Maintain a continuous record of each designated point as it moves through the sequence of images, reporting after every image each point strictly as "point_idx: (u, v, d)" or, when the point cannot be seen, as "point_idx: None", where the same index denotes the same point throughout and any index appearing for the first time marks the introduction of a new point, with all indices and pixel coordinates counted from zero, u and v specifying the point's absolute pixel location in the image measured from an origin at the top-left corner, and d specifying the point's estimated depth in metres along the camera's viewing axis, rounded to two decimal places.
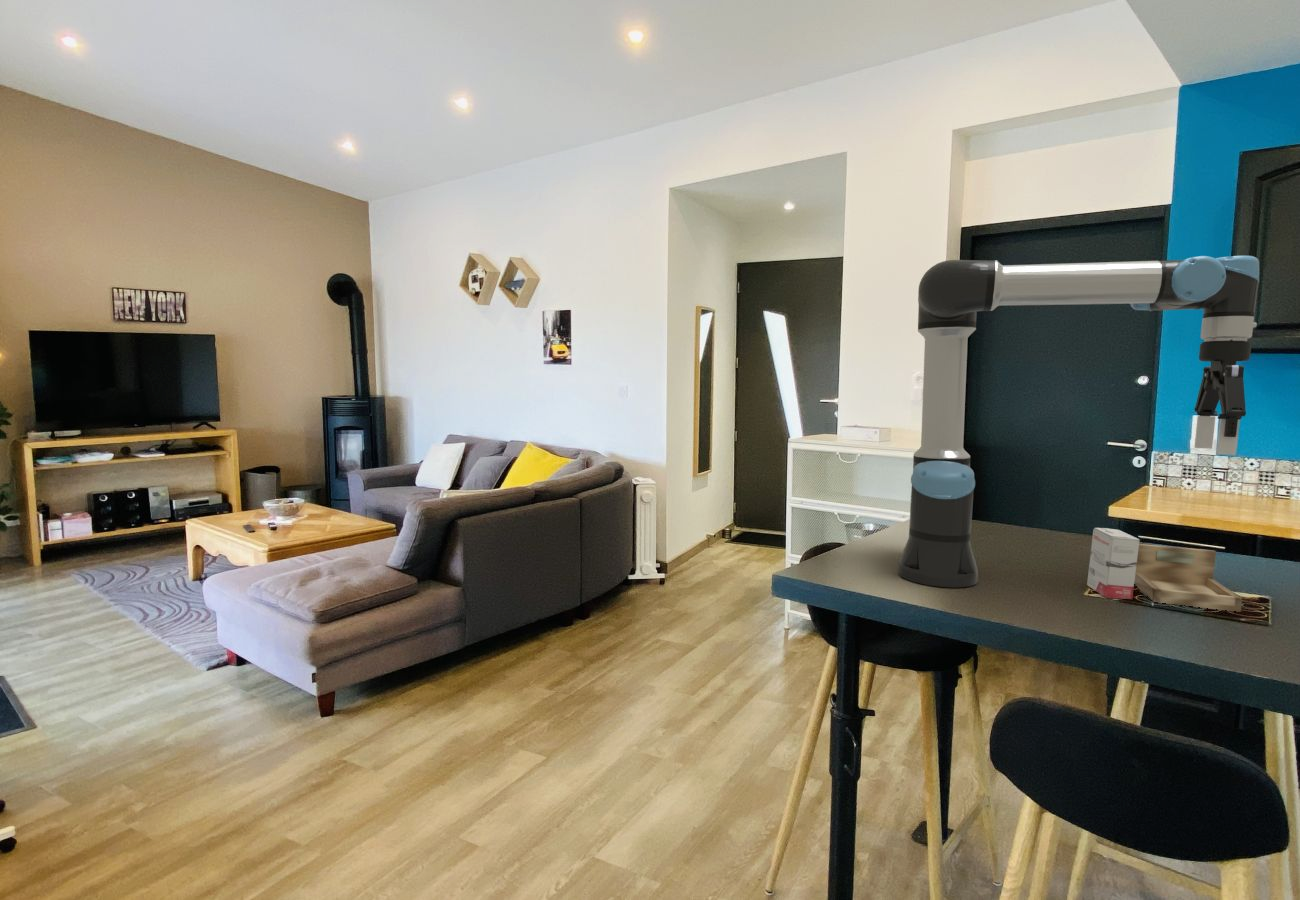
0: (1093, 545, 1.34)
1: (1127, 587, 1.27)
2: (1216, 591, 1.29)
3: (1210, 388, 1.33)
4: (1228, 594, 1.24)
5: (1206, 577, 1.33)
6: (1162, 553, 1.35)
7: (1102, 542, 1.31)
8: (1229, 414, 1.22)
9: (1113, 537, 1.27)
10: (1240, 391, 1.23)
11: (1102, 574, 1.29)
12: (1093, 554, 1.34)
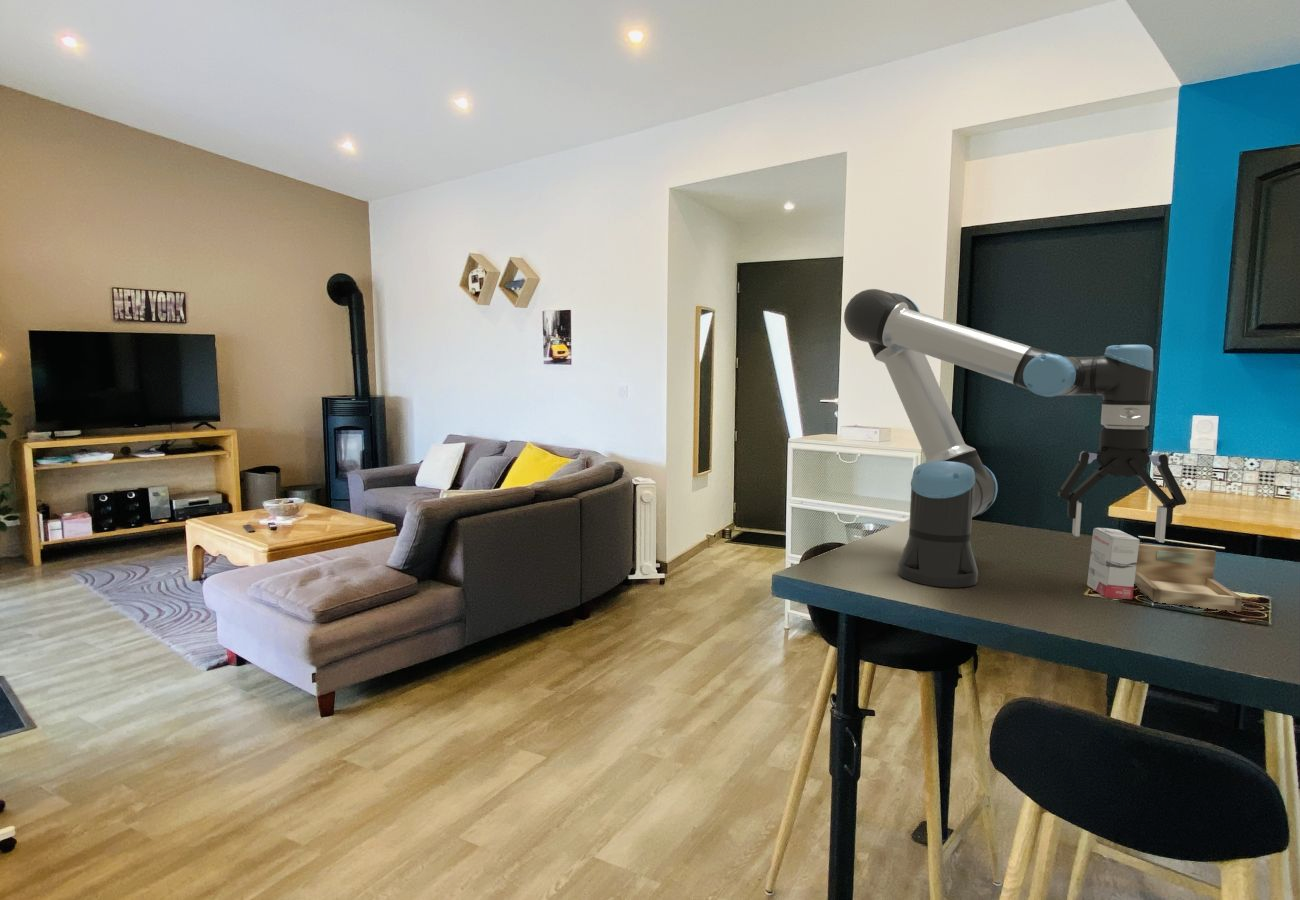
0: (1093, 545, 1.34)
1: (1127, 587, 1.27)
2: (1216, 591, 1.29)
3: (1137, 475, 1.29)
4: (1228, 594, 1.24)
5: (1206, 577, 1.33)
6: (1162, 553, 1.35)
7: (1102, 542, 1.31)
8: (1058, 495, 1.34)
9: (1113, 537, 1.27)
10: (1071, 475, 1.32)
11: (1102, 574, 1.29)
12: (1093, 554, 1.34)
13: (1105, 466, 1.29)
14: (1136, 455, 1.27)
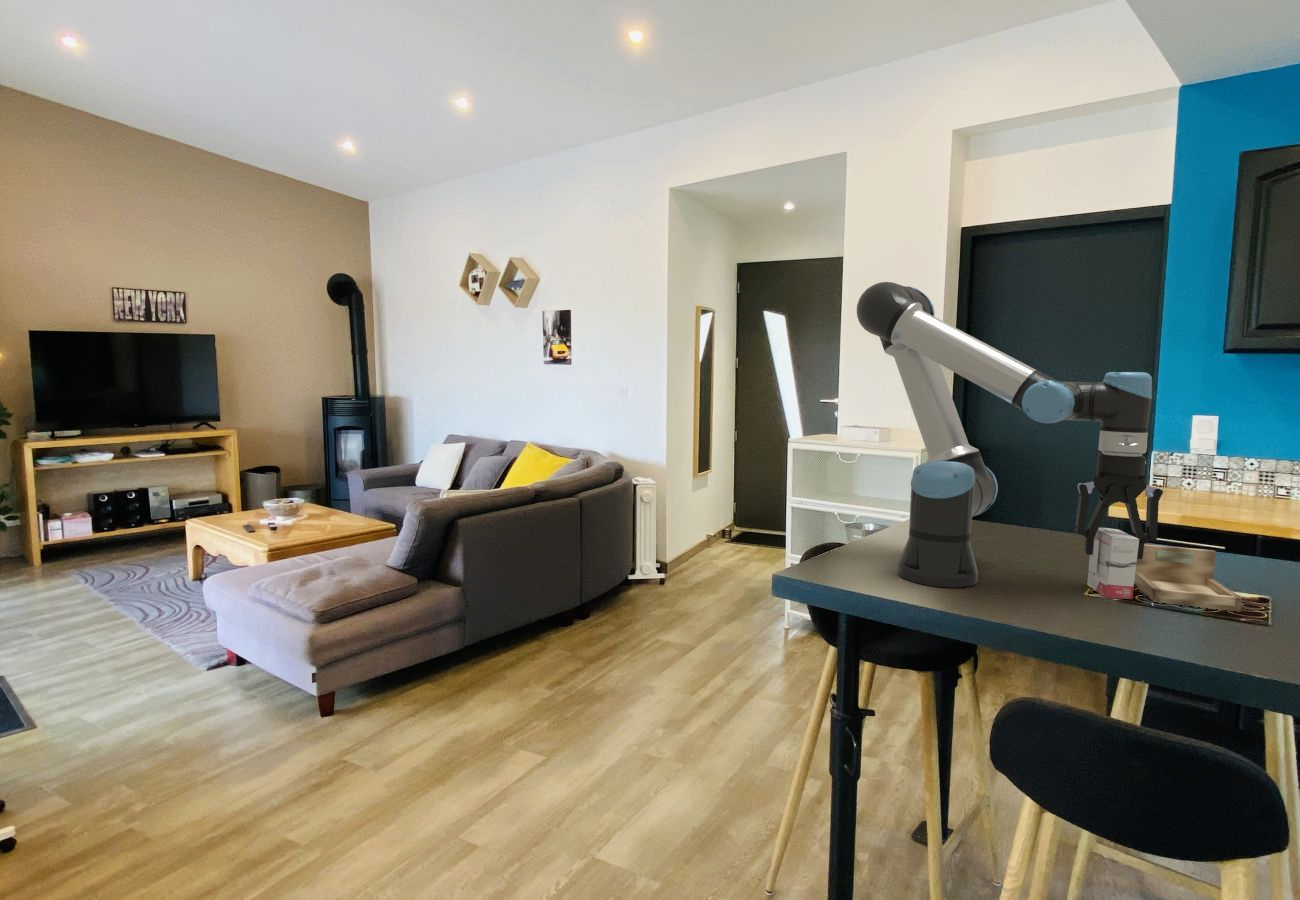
0: None
1: (1127, 587, 1.27)
2: (1216, 591, 1.29)
3: (1126, 503, 1.30)
4: (1228, 594, 1.24)
5: (1206, 577, 1.33)
6: (1162, 553, 1.35)
7: (1102, 542, 1.31)
8: (1076, 531, 1.34)
9: (1112, 537, 1.27)
10: (1079, 510, 1.32)
11: (1102, 574, 1.29)
12: None
13: (1105, 495, 1.29)
14: (1135, 480, 1.28)
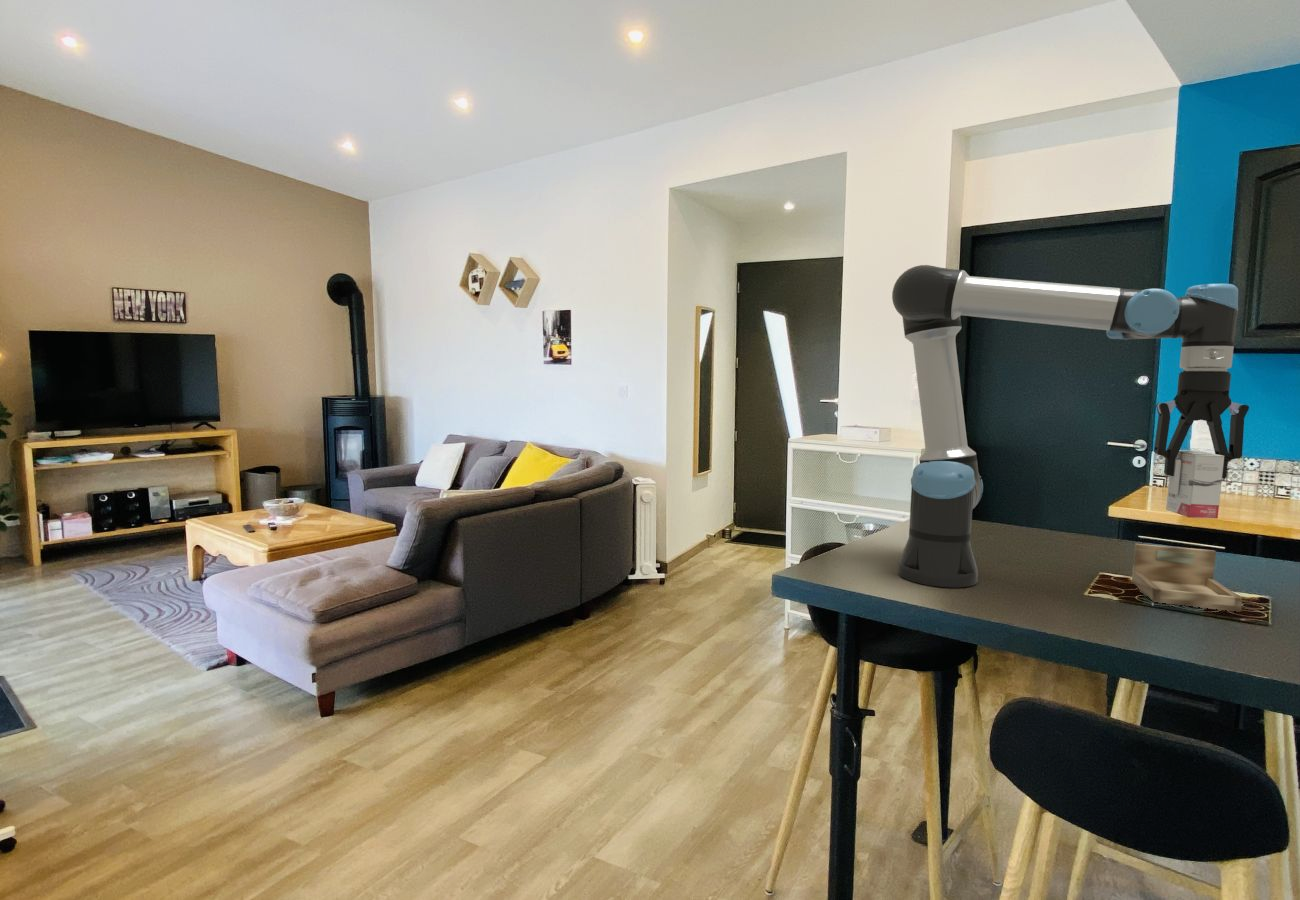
0: None
1: (1212, 506, 1.24)
2: (1216, 591, 1.29)
3: (1208, 422, 1.27)
4: (1228, 594, 1.24)
5: (1206, 577, 1.33)
6: (1162, 553, 1.35)
7: (1183, 462, 1.27)
8: (1155, 453, 1.30)
9: (1196, 455, 1.24)
10: (1159, 430, 1.28)
11: (1185, 494, 1.26)
12: None
13: (1187, 413, 1.26)
14: (1220, 396, 1.24)
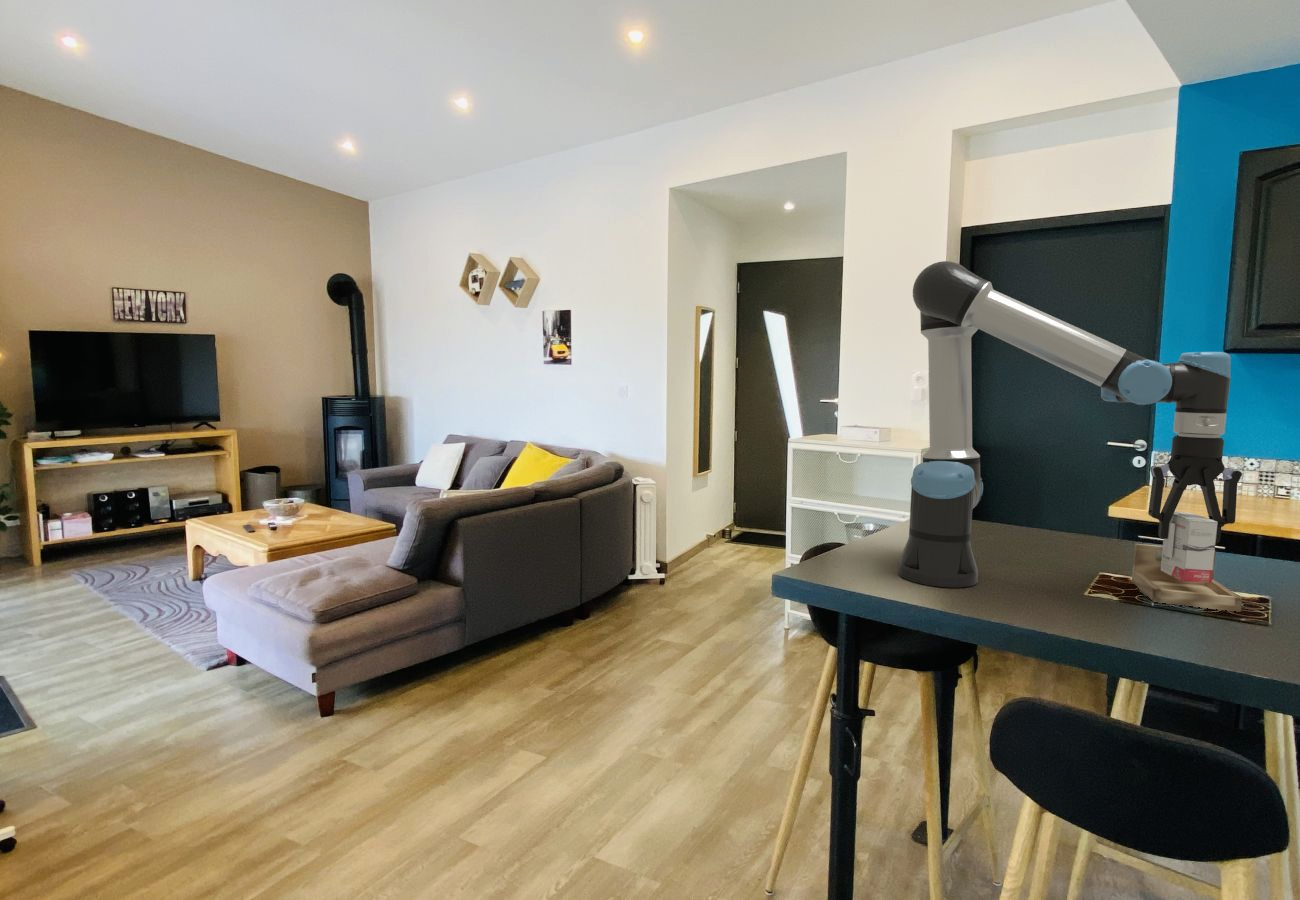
0: None
1: (1206, 571, 1.25)
2: (1216, 591, 1.29)
3: (1202, 486, 1.28)
4: (1228, 594, 1.24)
5: None
6: None
7: (1177, 526, 1.28)
8: (1150, 515, 1.31)
9: (1190, 520, 1.25)
10: (1153, 494, 1.30)
11: (1179, 558, 1.27)
12: None
13: (1181, 478, 1.27)
14: (1213, 462, 1.25)
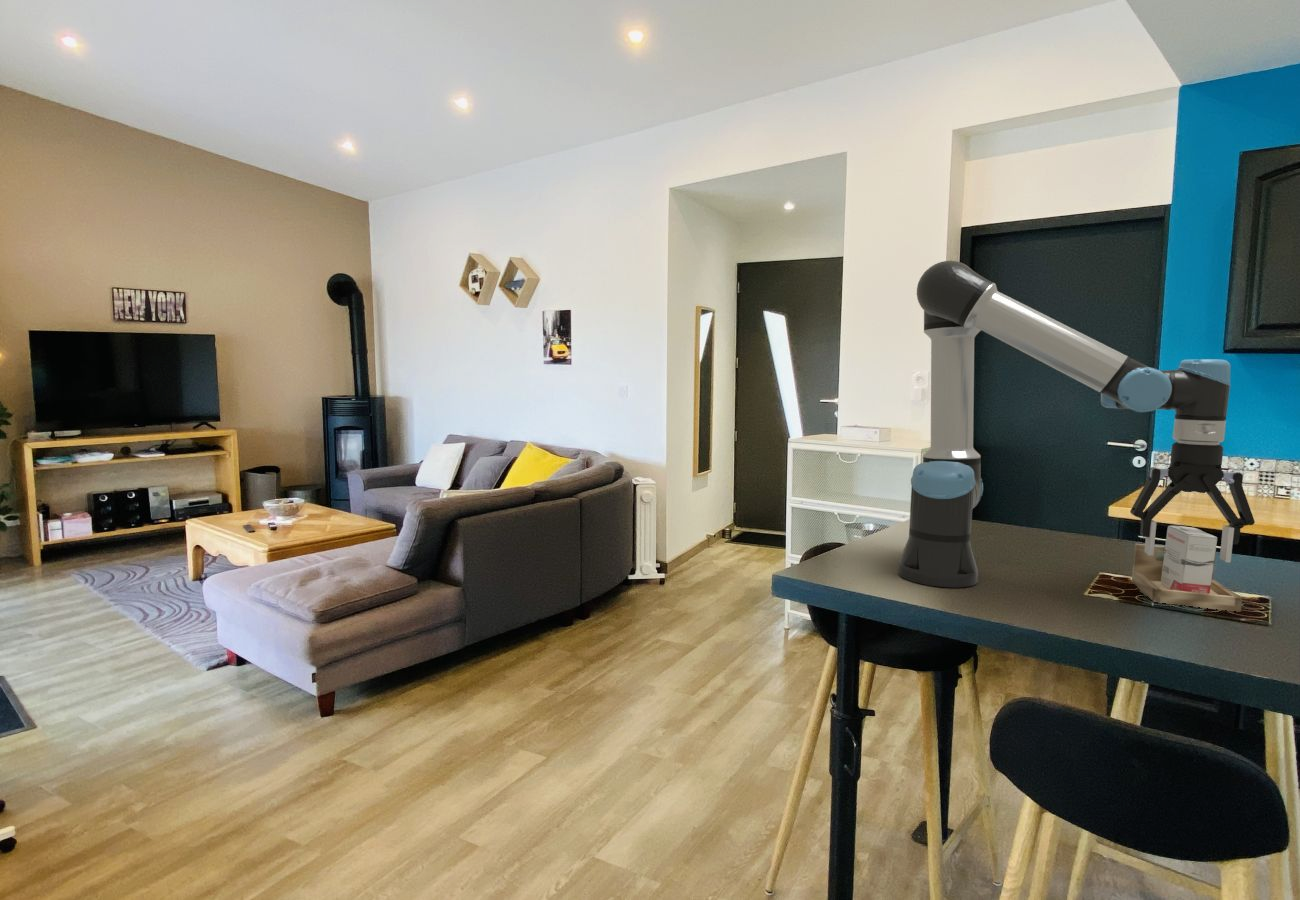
0: (1167, 543, 1.32)
1: (1203, 586, 1.25)
2: (1216, 591, 1.29)
3: (1207, 492, 1.28)
4: (1228, 594, 1.24)
5: None
6: (1162, 553, 1.35)
7: (1177, 540, 1.29)
8: (1131, 513, 1.33)
9: (1189, 535, 1.25)
10: (1143, 493, 1.30)
11: (1177, 572, 1.28)
12: (1167, 552, 1.32)
13: (1178, 482, 1.27)
14: (1210, 470, 1.26)
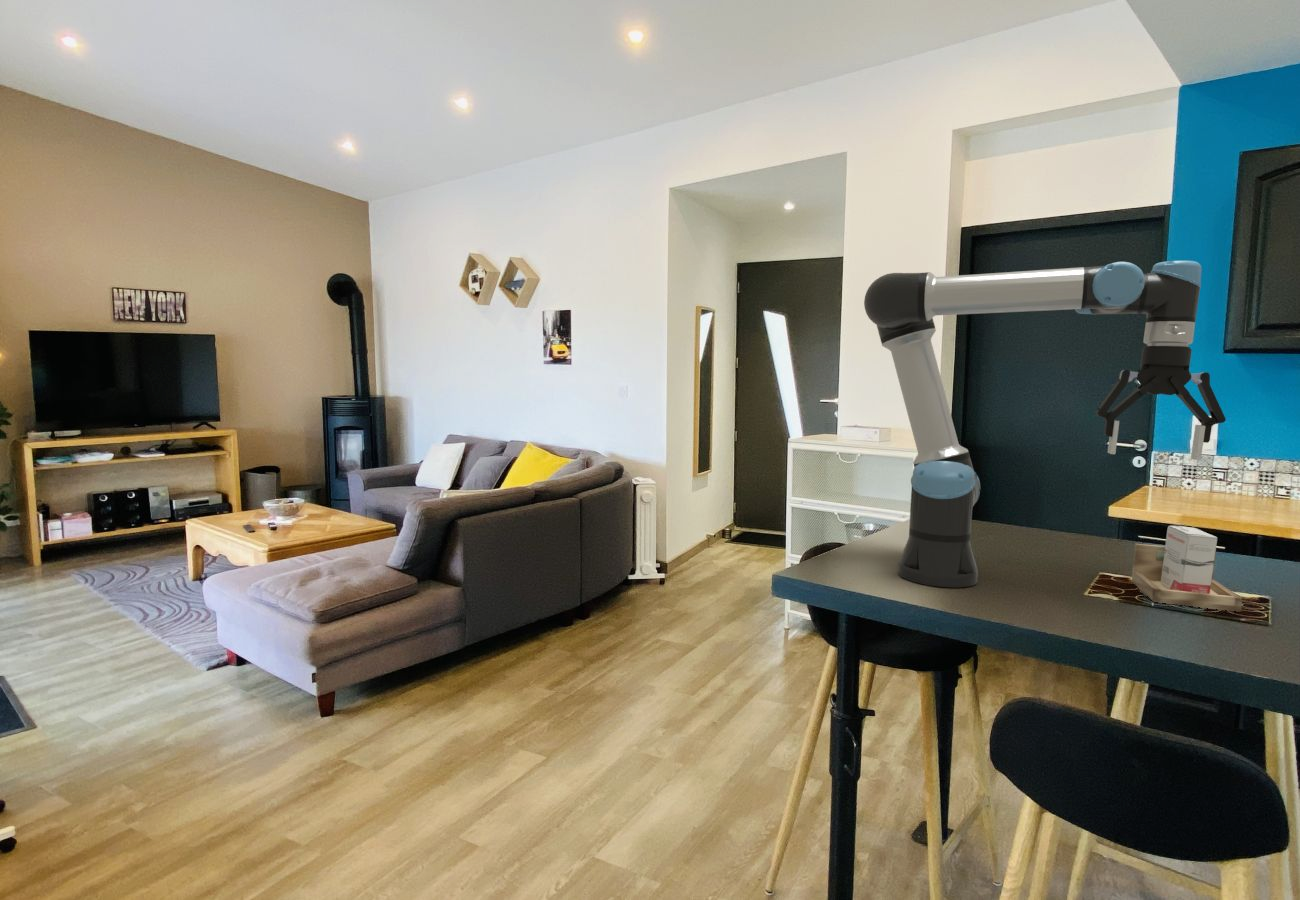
0: (1167, 543, 1.32)
1: (1203, 586, 1.25)
2: (1216, 591, 1.29)
3: (1177, 394, 1.30)
4: (1228, 594, 1.24)
5: None
6: (1162, 553, 1.35)
7: (1177, 540, 1.29)
8: None
9: (1189, 535, 1.25)
10: (1110, 393, 1.32)
11: (1177, 572, 1.28)
12: (1167, 552, 1.32)
13: (1145, 384, 1.30)
14: (1178, 373, 1.28)
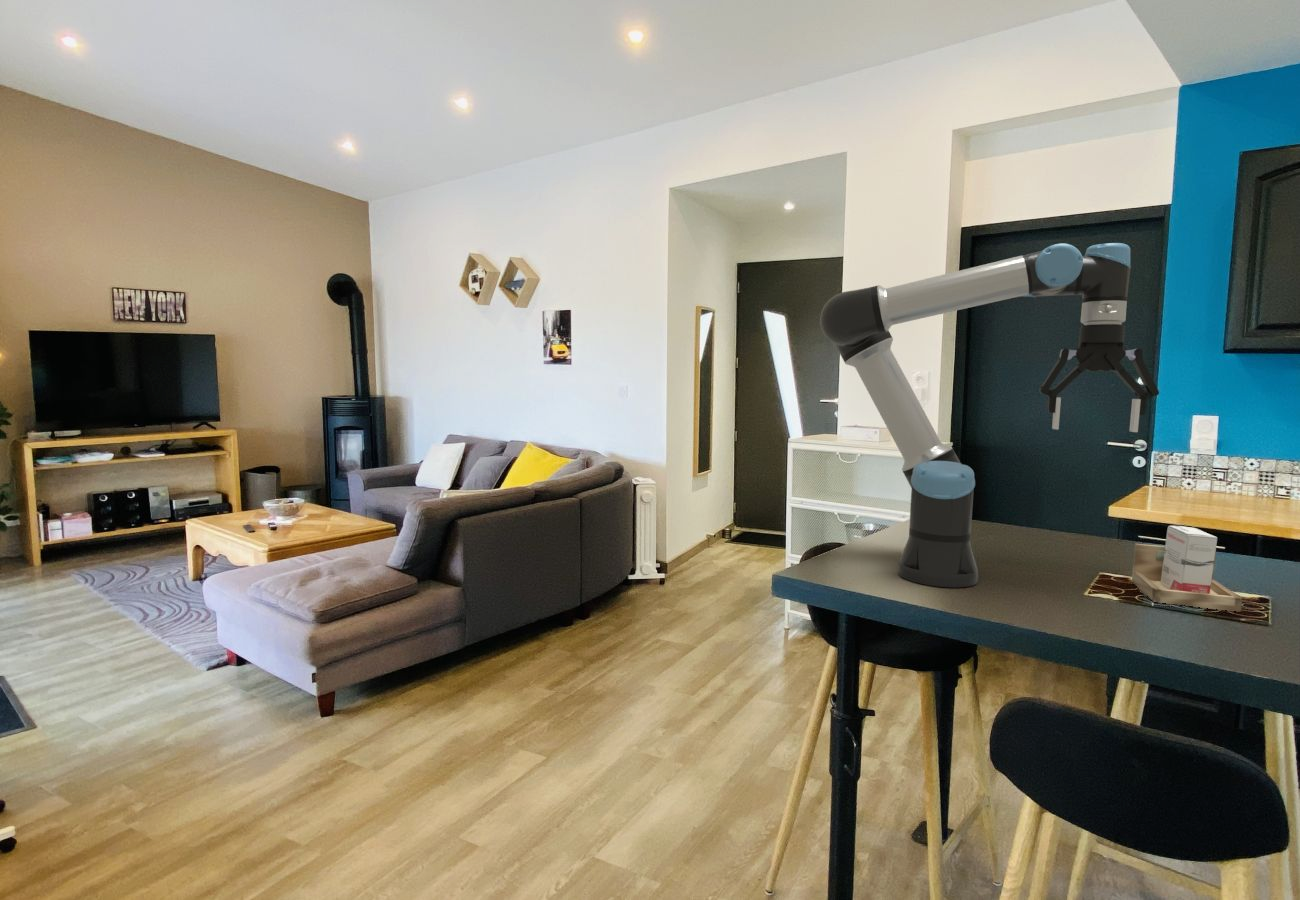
0: (1167, 543, 1.32)
1: (1203, 586, 1.25)
2: (1216, 591, 1.29)
3: (1114, 370, 1.36)
4: (1228, 594, 1.24)
5: None
6: (1162, 553, 1.35)
7: (1177, 540, 1.29)
8: (1039, 392, 1.42)
9: (1189, 535, 1.25)
10: (1051, 372, 1.39)
11: (1177, 572, 1.28)
12: (1167, 552, 1.32)
13: (1084, 361, 1.36)
14: (1113, 350, 1.35)
